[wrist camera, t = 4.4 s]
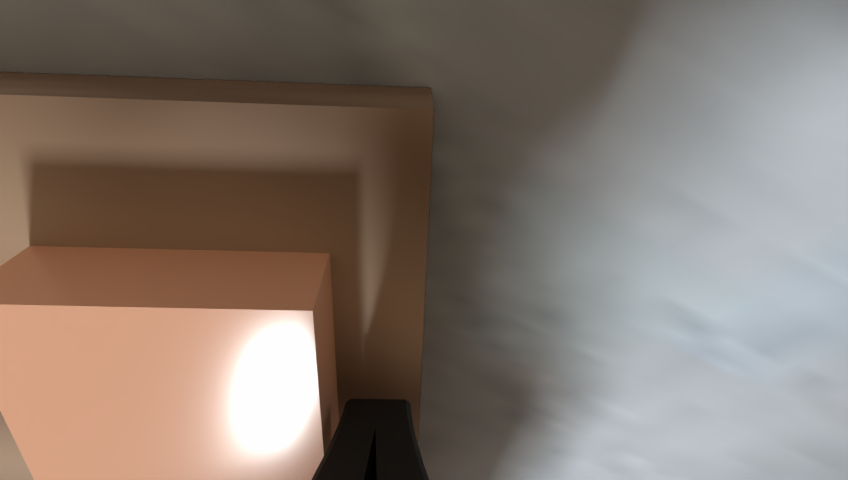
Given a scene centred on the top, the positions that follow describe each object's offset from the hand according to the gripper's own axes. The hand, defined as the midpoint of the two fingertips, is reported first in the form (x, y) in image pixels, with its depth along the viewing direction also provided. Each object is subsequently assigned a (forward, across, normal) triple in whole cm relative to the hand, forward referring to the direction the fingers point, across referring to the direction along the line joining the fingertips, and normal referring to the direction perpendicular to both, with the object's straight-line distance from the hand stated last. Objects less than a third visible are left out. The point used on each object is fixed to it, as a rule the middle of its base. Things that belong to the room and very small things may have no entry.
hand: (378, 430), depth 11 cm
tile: (0, +4, 0) cm, 4 cm away
